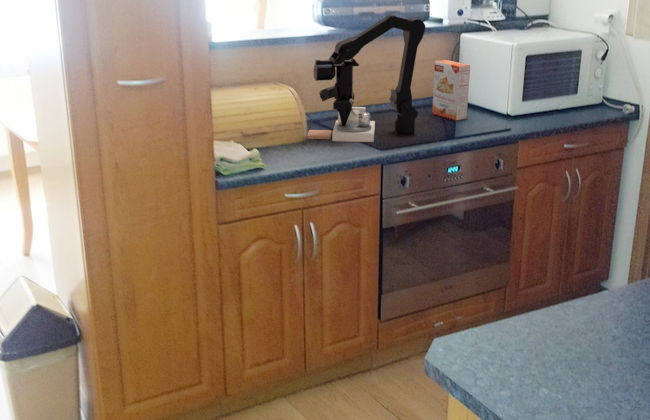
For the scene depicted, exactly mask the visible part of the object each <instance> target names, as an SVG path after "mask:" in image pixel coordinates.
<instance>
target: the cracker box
mask: <svg viewBox="0 0 650 420" xmlns="http://www.w3.org/2000/svg"><path fill="white" fill-rule="evenodd" d="M470 71H471V65H470V64H467V63H462V62H457V61H453V60H449V59H448V60H447V59H439V60H435V61H434V70H433V89H432V90H433V93H432V94H433V95H432V109H431V110H432V112H431V113H432V114H433V115H437V116H440V117H443V118H445V117H446V118H445V119H448V118H449V120H451V119H452V121H454V120H455V122H458V121H462V120H467V117H468V102H469V89H470V88H469V87H470V75H471V74H470V73H471V72H470ZM457 120H458V121H457Z"/></svg>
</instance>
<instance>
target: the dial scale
mask: <svg viewBox="0 0 650 420" xmlns="http://www.w3.org/2000/svg"><path fill="white" fill-rule="evenodd" d="M366 109H367V108H366V107H365V106H352V110H351V112H350V126H349V127H339V126H338V119H336V120H335V124H334V127H333V130H332V135H331V138H332V139H331V141H332V142H354V143H374V141H375V132H376V121H375V120H370V127H367V128H362V127H358V117H359V113H360V112H366Z"/></svg>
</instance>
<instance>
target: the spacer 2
mask: <svg viewBox="0 0 650 420" xmlns="http://www.w3.org/2000/svg"><path fill="white" fill-rule="evenodd" d="M370 121H371V113H370V112H360V113H359V117H358V127H362V128H367V127H370Z"/></svg>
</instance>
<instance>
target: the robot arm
mask: <svg viewBox="0 0 650 420" xmlns="http://www.w3.org/2000/svg"><path fill="white" fill-rule="evenodd" d="M392 29H398V30H402V37H403V42H404V46H403V52H402V57H401V63H400V64H401V65H400V70H399V77H398V82H397V86H396V88H395V89H394V88H391V89H390V90H391V91H390V97H389V99H388V100H389V101H390V105H391V107H392V108H393V109H394V111H395V113H396V118H395V124H394V125H395V126H394V130H395V131H394V132H395V133H396V135H408V136H410V135H411V136H415V135H416V130H415V129H416V128H415V127H416V119H417V117H418V114H419V111H417V109H415V107H413V94H412V89H411V87H412V82H413V75H414V69H415V65H416V59H417V52H418V47H419V45H420V43H421V42H422V40H423V37H424V34H425V32H426V24H425V22H424V21H423V20H421V19H419V18H415V17H408V18H403V17H400V16H396V15H393V14H387V15H386V16H384V17H383V18H381V19H380V20H378V21H376V23H374V24H372V25H371V26H369V27H367V29H364V30H363V31H362V32H360V33H358V34H357V35H354V36H351V37H346V38H345V39H342V40H340V41H338V42H337V43H336V44H335V46H334V51H333V52H332V54H331V55H330V57H329V58H328V59H325V60H323V59H315V60H314V65H313V71H312V72H313V79H314V81H319V82H320V81H332V80H333V79H335V83H334V85H332V86H330V87H326V88H324V89H323V88H322V89H321V90H319V92H318V93H319V98H320V99H321V101H322V102H326V101H327V100H329V99H332V98H334V101H333V103H332V104H333V105H332V106H333V107H332V109H333V110H336V111H337V112H338V113H339V114H340V119H341V123H342V126H345V125H346V122H347V120H348V117H349V115H350V112H351V110H352V107H354V106H353V105H354V103H355V102H354V100H355V94H356V93H355V92H354V91H353V89H354V88H353V85H354V67H359V66H360V64H359V63H358V61H356V59H355V58H354V57H355V56H357V55H358V54H359V53H360V51H361V50H362V49H363V48H364V47H365V46H366V45H368V44H370V43H371V42H372V41H374V40H376V39H377V38H379V37H380V36H382V35H384V34H385V33H388V31H390V30H392ZM352 100H353V101H352Z"/></svg>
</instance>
